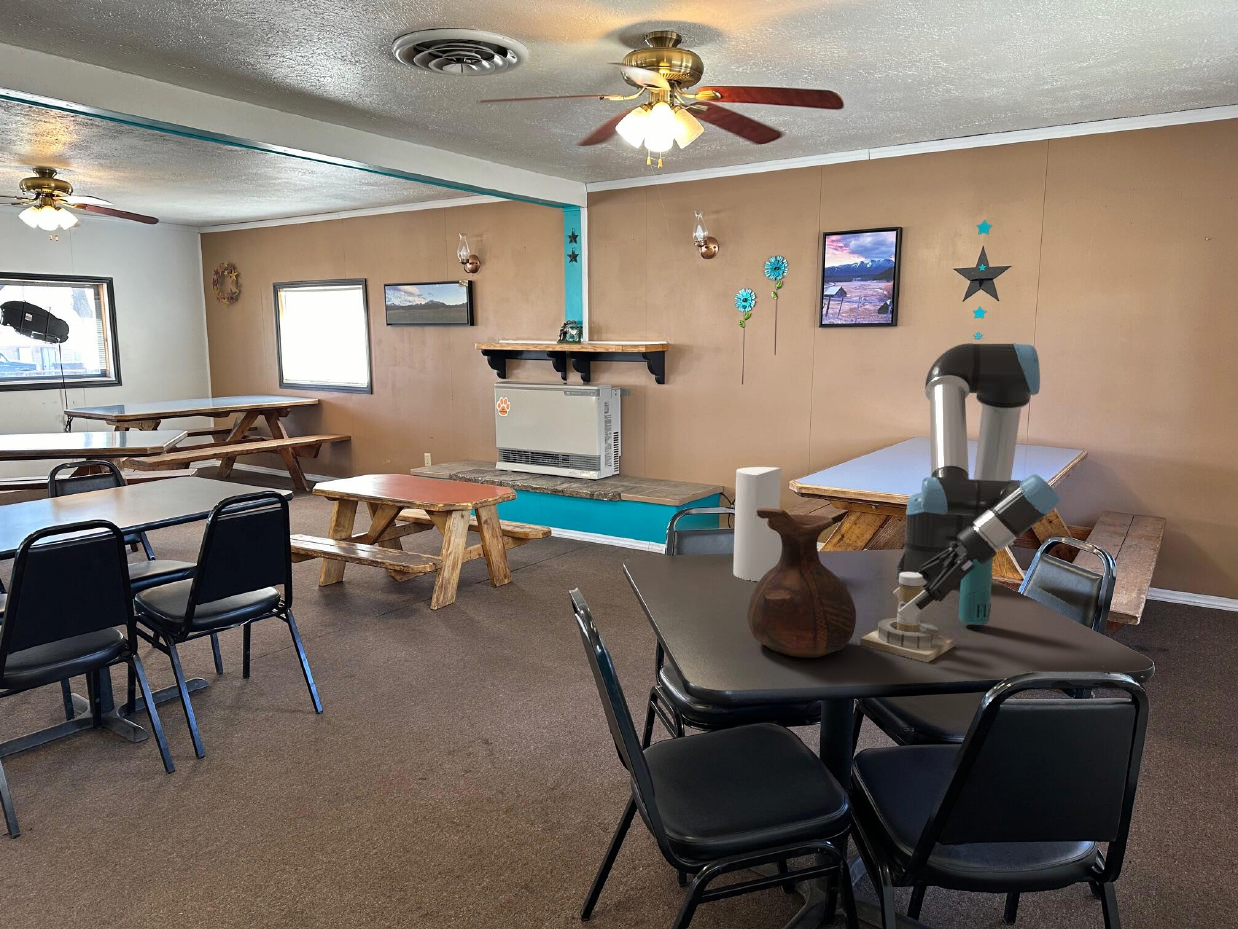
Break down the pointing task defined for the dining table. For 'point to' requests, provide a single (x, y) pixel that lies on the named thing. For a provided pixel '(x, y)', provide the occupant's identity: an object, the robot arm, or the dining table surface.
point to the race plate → (909, 651)
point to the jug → (800, 593)
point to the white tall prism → (755, 522)
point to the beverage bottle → (976, 594)
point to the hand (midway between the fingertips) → (900, 606)
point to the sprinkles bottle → (908, 599)
